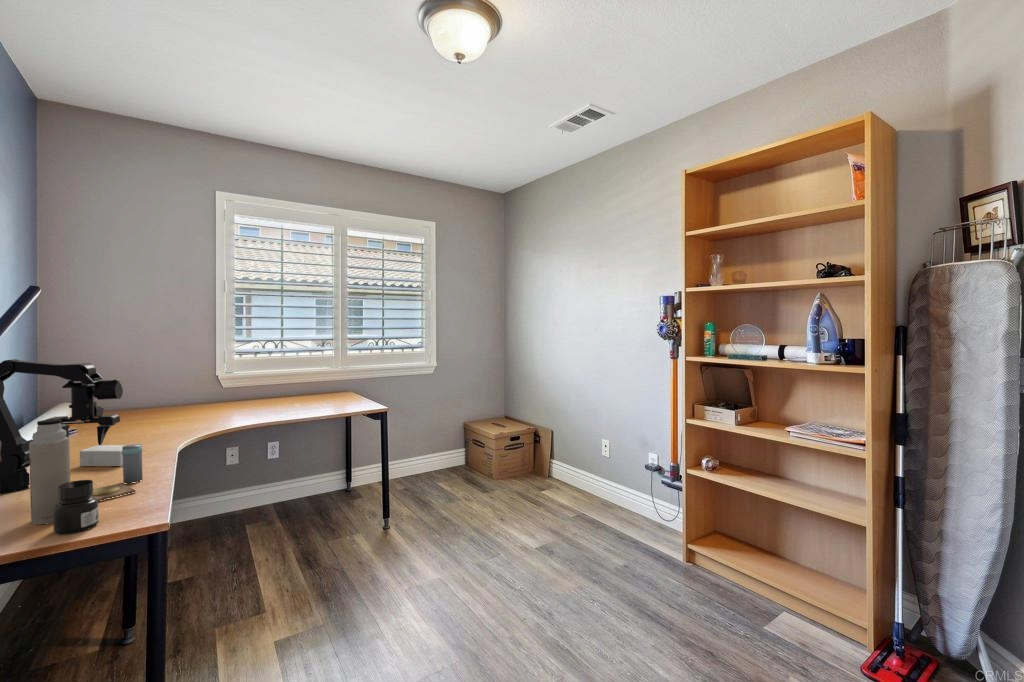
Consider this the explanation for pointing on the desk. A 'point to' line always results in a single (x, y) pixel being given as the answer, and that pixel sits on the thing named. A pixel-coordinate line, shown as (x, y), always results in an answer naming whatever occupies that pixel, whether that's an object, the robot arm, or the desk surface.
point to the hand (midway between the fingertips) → (83, 445)
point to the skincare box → (102, 456)
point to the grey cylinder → (132, 463)
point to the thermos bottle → (47, 468)
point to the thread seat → (111, 491)
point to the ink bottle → (75, 507)
